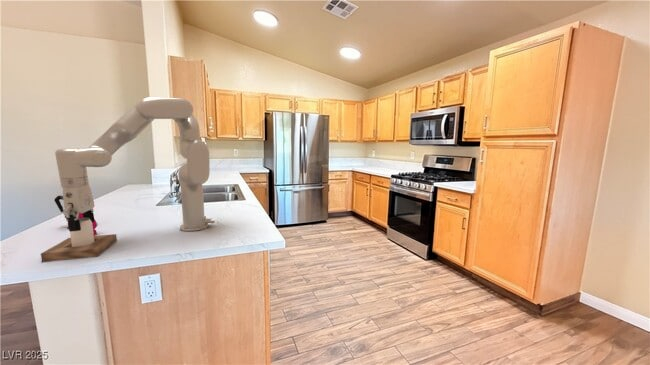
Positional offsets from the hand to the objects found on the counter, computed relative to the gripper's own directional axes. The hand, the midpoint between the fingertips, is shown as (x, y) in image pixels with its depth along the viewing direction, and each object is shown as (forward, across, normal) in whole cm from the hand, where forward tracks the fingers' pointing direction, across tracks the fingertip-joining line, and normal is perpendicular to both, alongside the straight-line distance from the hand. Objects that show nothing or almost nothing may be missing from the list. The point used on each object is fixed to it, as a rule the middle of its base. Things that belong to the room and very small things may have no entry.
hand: (82, 226), depth 101 cm
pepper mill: (+10, +18, +8) cm, 22 cm away
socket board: (+9, 0, +1) cm, 9 cm away
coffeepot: (+10, +34, +19) cm, 41 cm away
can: (+10, 0, +1) cm, 10 cm away
